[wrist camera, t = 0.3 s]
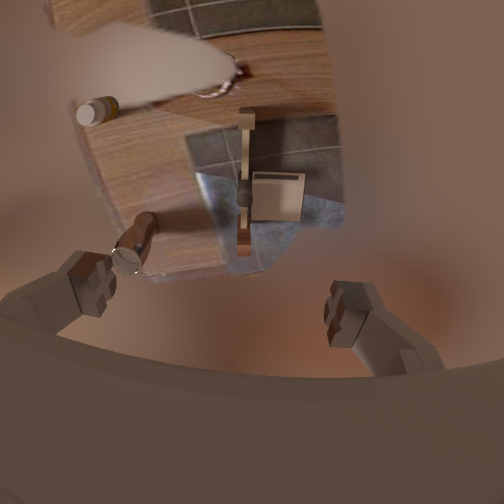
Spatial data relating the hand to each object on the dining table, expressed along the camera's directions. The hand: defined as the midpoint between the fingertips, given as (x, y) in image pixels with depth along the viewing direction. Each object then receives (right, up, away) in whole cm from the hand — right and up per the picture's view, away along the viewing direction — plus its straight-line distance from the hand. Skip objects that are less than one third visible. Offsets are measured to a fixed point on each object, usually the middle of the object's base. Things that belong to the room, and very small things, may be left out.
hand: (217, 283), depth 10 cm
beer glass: (-23, +8, +52) cm, 57 cm away
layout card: (+7, +13, +49) cm, 51 cm away
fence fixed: (0, +22, +43) cm, 48 cm away
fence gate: (-1, +11, +49) cm, 50 cm away
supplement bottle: (-28, +30, +36) cm, 55 cm away
